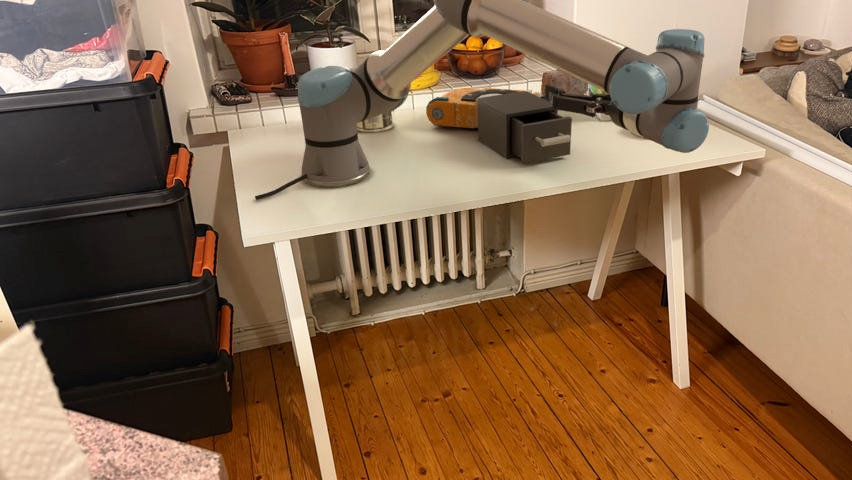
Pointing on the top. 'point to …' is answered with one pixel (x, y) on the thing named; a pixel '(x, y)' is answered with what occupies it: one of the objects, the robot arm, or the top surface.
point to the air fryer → (505, 117)
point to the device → (462, 106)
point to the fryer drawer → (540, 136)
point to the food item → (563, 82)
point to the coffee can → (376, 123)
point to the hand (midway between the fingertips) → (574, 86)
